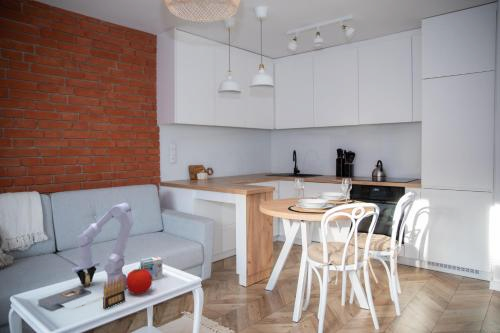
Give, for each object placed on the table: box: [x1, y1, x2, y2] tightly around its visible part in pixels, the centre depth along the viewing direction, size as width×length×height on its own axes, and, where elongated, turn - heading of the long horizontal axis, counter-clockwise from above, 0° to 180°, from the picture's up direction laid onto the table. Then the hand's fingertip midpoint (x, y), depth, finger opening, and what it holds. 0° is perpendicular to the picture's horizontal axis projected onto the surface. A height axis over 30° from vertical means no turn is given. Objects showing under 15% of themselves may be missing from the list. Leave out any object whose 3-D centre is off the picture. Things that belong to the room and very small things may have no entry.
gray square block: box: [77, 282, 95, 290], centre depth 189 cm, size 6×6×2 cm
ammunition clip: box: [102, 276, 126, 310], centre depth 168 cm, size 11×2×12 cm, turn 148°
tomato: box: [126, 266, 153, 295], centre depth 182 cm, size 12×13×12 cm
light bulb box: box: [139, 255, 163, 281], centre depth 202 cm, size 11×7×11 cm, turn 123°
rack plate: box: [37, 286, 92, 312], centre depth 174 cm, size 12×19×3 cm, turn 146°
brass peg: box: [83, 272, 91, 288], centre depth 189 cm, size 4×4×6 cm
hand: (86, 283), depth 189 cm, fingers closed on brass peg, 3 cm apart
